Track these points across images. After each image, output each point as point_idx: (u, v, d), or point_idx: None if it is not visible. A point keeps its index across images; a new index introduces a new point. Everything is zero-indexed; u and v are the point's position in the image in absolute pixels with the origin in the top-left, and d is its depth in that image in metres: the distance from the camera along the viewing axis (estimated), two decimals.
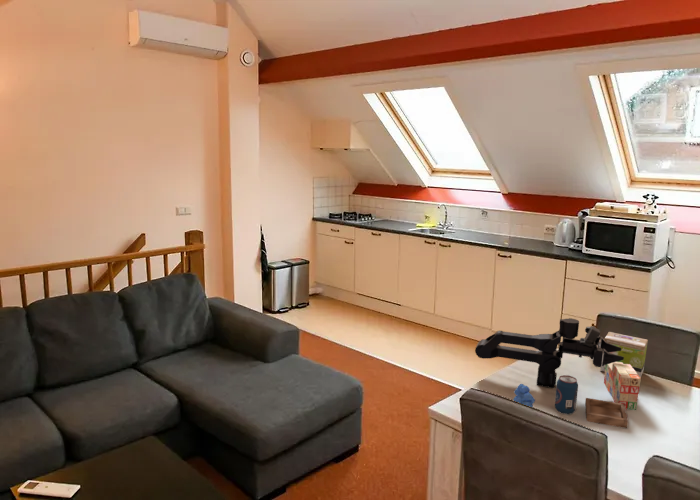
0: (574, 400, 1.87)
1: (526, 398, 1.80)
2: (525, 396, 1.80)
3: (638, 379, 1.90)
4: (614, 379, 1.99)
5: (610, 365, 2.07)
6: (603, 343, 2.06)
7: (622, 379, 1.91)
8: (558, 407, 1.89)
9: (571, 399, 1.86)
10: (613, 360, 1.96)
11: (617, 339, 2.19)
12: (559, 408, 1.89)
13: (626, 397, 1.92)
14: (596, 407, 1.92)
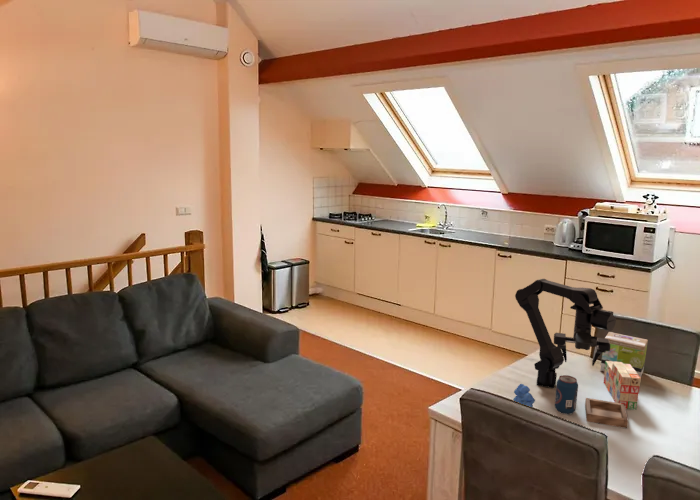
0: (574, 400, 1.87)
1: (526, 398, 1.80)
2: (525, 396, 1.80)
3: (638, 379, 1.90)
4: (614, 379, 2.00)
5: (610, 365, 2.08)
6: (596, 350, 1.95)
7: (622, 379, 1.91)
8: (558, 407, 1.89)
9: (571, 399, 1.86)
10: None
11: (617, 339, 2.19)
12: (559, 408, 1.89)
13: (626, 396, 1.92)
14: (596, 407, 1.92)
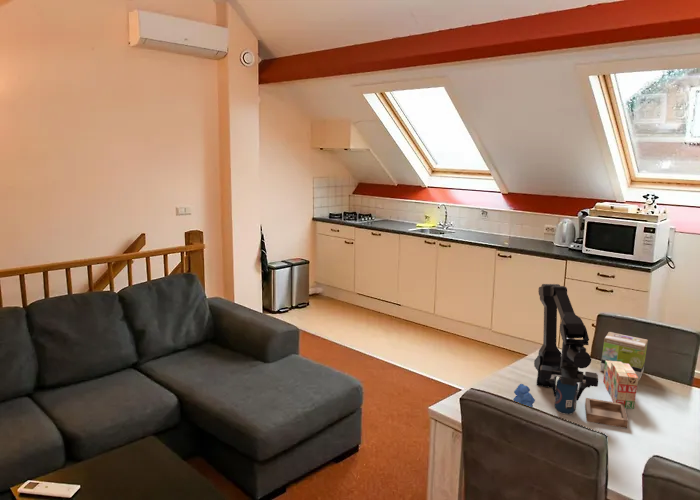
0: (574, 400, 1.87)
1: (526, 398, 1.80)
2: (525, 396, 1.80)
3: (636, 378, 1.91)
4: (612, 378, 2.00)
5: (609, 364, 2.08)
6: (580, 385, 1.86)
7: (620, 378, 1.92)
8: (558, 407, 1.89)
9: (571, 399, 1.86)
10: None
11: (617, 339, 2.19)
12: (559, 408, 1.89)
13: (623, 396, 1.93)
14: (596, 407, 1.92)
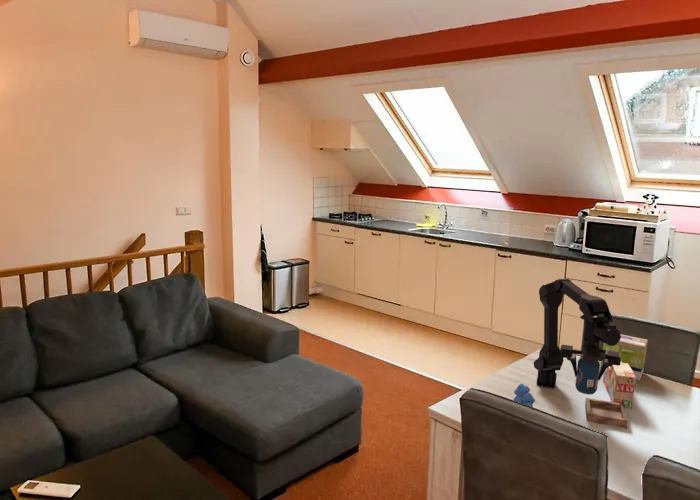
0: (595, 380, 1.83)
1: (526, 398, 1.80)
2: (525, 396, 1.80)
3: (633, 378, 1.91)
4: (611, 377, 2.01)
5: None
6: (602, 364, 1.83)
7: (617, 377, 1.92)
8: (579, 387, 1.85)
9: (593, 378, 1.83)
10: None
11: None
12: (580, 388, 1.85)
13: (621, 395, 1.93)
14: (596, 407, 1.92)
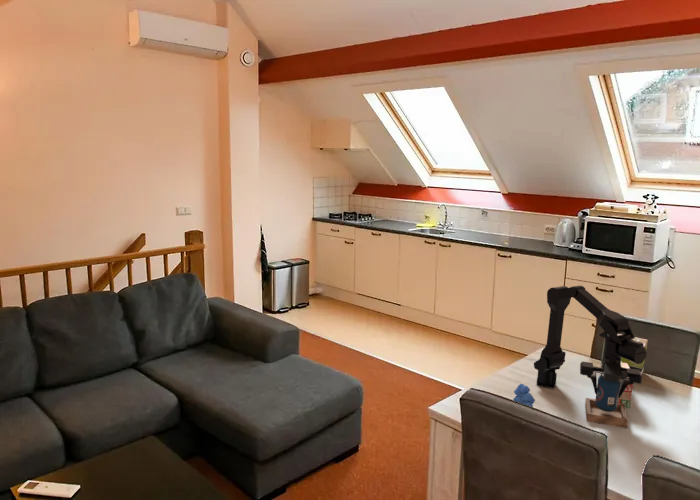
0: (616, 397, 1.83)
1: (526, 398, 1.80)
2: (525, 396, 1.80)
3: None
4: None
5: None
6: (622, 382, 1.82)
7: None
8: (599, 404, 1.85)
9: (613, 396, 1.82)
10: None
11: None
12: (600, 405, 1.84)
13: None
14: (596, 407, 1.92)
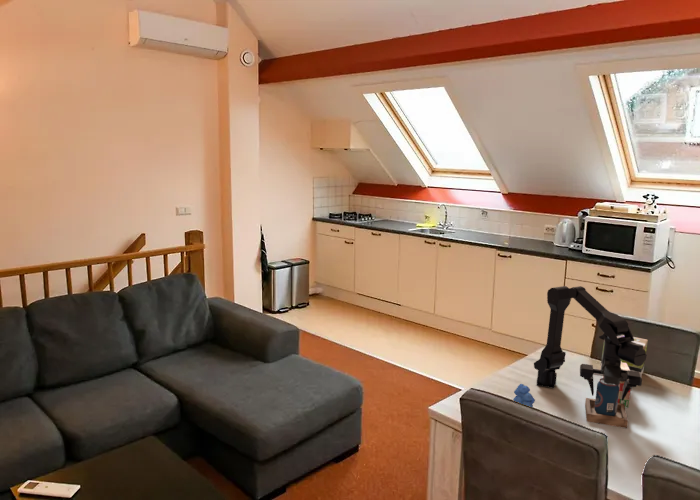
0: (615, 403, 1.83)
1: (526, 398, 1.80)
2: (525, 396, 1.80)
3: None
4: None
5: None
6: (626, 384, 1.82)
7: None
8: (599, 410, 1.85)
9: (613, 402, 1.83)
10: None
11: None
12: (600, 411, 1.85)
13: None
14: None
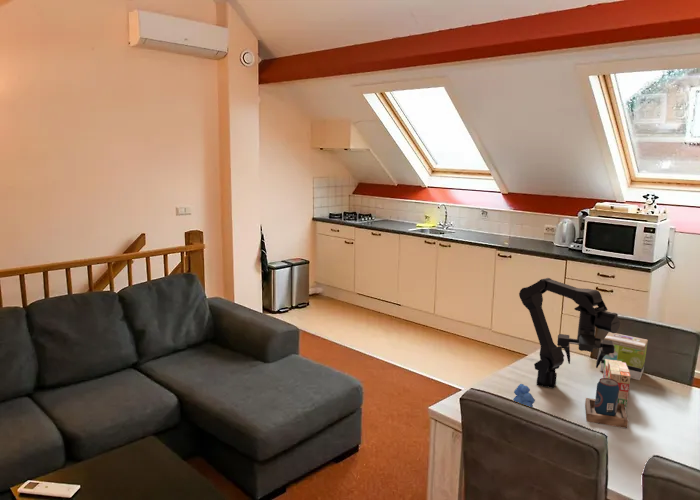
0: (615, 403, 1.83)
1: (526, 398, 1.80)
2: (525, 396, 1.80)
3: (628, 376, 1.92)
4: (608, 376, 2.02)
5: (607, 363, 2.09)
6: (600, 352, 1.93)
7: (612, 376, 1.94)
8: (599, 410, 1.85)
9: (613, 402, 1.83)
10: None
11: (617, 339, 2.19)
12: (600, 411, 1.85)
13: None
14: None
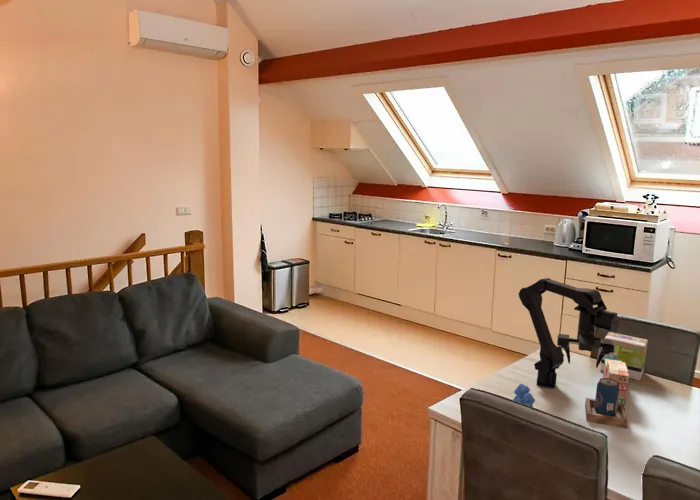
0: (615, 403, 1.83)
1: (526, 398, 1.80)
2: (525, 396, 1.80)
3: (626, 376, 1.92)
4: (607, 376, 2.02)
5: (607, 363, 2.10)
6: (599, 352, 1.94)
7: (610, 375, 1.94)
8: (599, 410, 1.85)
9: (613, 402, 1.83)
10: None
11: (617, 339, 2.19)
12: (600, 411, 1.85)
13: None
14: None
